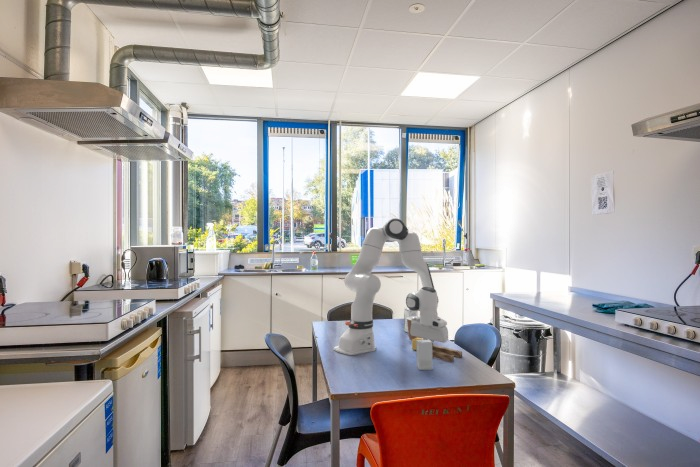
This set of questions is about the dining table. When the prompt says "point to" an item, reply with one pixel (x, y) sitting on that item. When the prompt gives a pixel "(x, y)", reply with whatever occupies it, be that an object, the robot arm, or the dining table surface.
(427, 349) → the skincare box
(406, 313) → the syrup box
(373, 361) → the dining table surface
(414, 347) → the ochre block
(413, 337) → the coffee cup
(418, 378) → the dining table surface
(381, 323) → the dining table surface
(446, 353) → the chute
